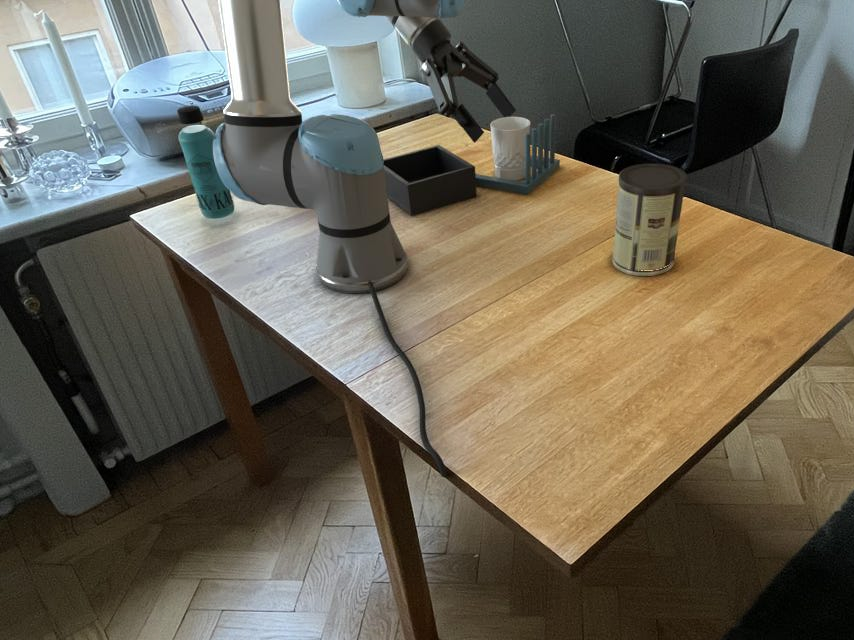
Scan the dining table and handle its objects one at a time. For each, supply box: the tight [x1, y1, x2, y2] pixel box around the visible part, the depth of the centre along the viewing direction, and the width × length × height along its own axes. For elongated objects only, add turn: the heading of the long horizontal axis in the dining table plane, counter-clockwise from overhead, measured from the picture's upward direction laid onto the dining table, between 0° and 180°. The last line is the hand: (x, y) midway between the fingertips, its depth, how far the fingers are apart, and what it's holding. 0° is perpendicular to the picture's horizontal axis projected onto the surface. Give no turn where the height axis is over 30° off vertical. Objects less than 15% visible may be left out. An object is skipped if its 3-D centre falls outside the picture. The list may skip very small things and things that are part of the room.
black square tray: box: [383, 144, 477, 217], centre depth 143 cm, size 15×15×6 cm
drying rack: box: [475, 113, 561, 196], centre depth 145 cm, size 13×15×11 cm
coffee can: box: [611, 162, 688, 277], centre depth 116 cm, size 10×10×14 cm
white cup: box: [489, 116, 531, 181], centre depth 146 cm, size 8×8×10 cm
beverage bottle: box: [176, 104, 236, 220], centre depth 134 cm, size 6×7×20 cm
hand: (495, 126), depth 144 cm, fingers open, 13 cm apart
